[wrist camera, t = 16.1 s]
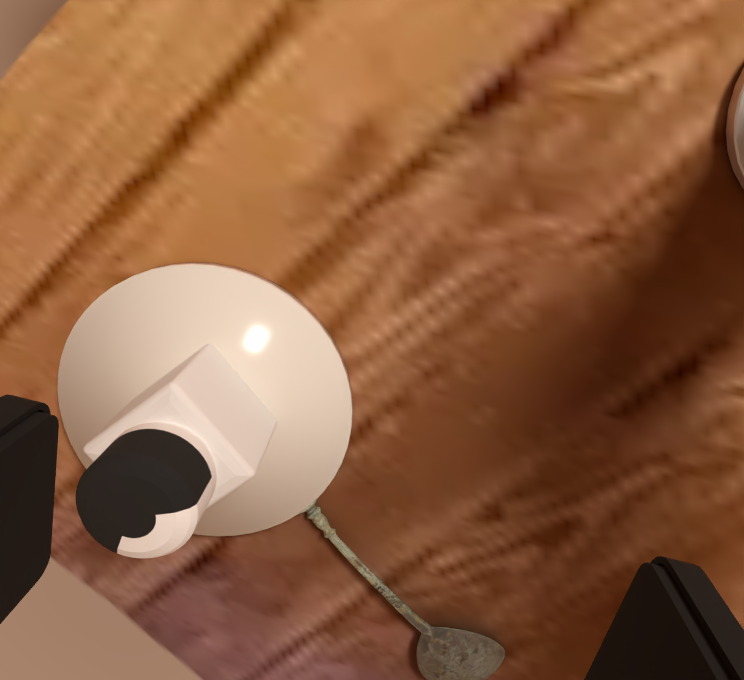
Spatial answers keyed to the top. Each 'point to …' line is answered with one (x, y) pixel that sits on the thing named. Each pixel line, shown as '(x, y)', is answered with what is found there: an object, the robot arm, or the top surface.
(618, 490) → the top surface
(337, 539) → the grey spatula
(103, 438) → the medicine bottle
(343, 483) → the top surface
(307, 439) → the dish
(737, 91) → the robot arm
